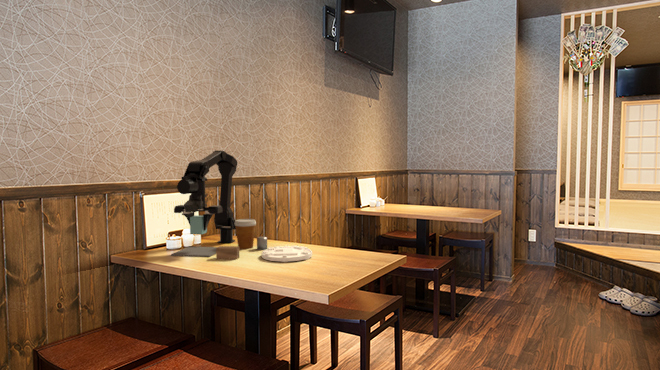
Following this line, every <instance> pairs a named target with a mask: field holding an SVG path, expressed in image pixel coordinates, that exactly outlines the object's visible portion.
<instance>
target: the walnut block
mask: <svg viewBox="0 0 660 370" xmlns="http://www.w3.org/2000/svg"><path fill="white" fill-rule="evenodd" d="M215 255H216V260H235V259H237V260H238V259H239V258H240V248H239V246H238V245H237V246H231V245H230V246H227V245H224V246H223V245H219V246H217V248H216V254H215Z"/></svg>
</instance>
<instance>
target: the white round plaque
mask: <svg viewBox="0 0 660 370" xmlns="http://www.w3.org/2000/svg"><path fill="white" fill-rule="evenodd" d="M312 256H313V251H312V250H311V248H309V247H306V246H302V245H300V246H298V245H291V246H290V245H283V246H281V245H277V246H276V245H275V246H273V247H272V246H268V247H267V249H266V250H261V258H262V259H264V260H266V261H272V262H283V263H288V262H296V261H297V262H299V261H306V260H310V258H311V257H312Z"/></svg>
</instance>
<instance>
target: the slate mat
mask: <svg viewBox="0 0 660 370" xmlns="http://www.w3.org/2000/svg"><path fill="white" fill-rule="evenodd" d="M217 247H218V246H217ZM217 247H216V246H194V245H193V246H189V245H188V246H187V247H185V248H182V249H180V250H177V251H176V252H173V253H171V254H170V257H171V256H172V257H197V258H199V257H200V258H211V257H212V256H214V255H216V248H217Z"/></svg>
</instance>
